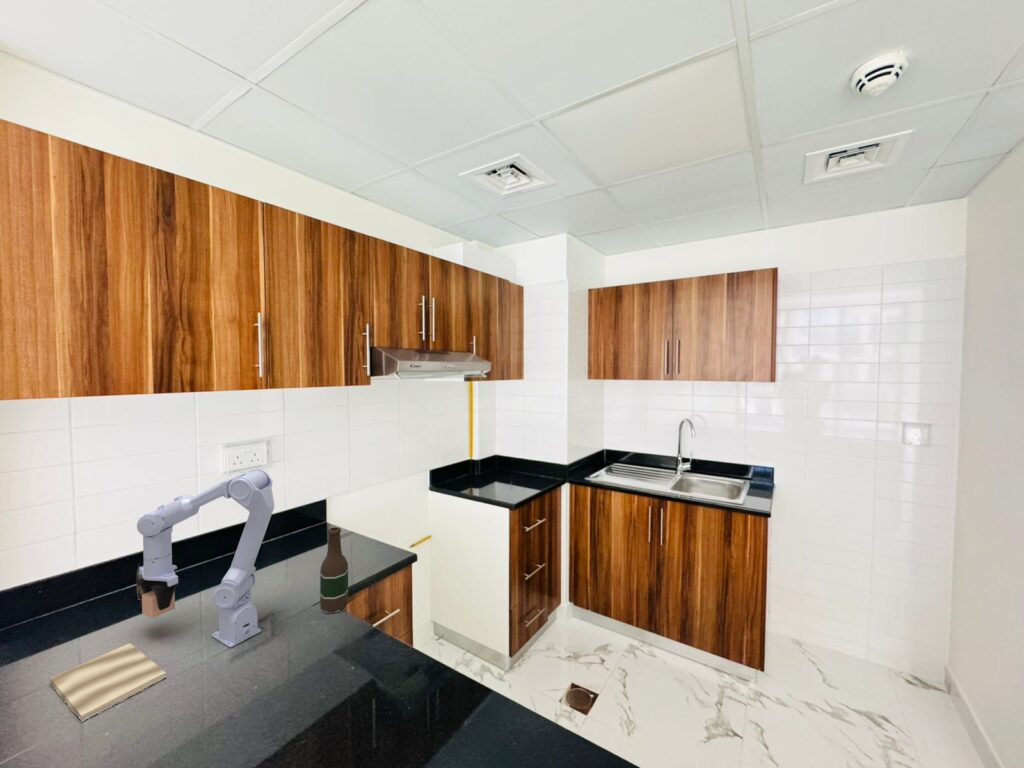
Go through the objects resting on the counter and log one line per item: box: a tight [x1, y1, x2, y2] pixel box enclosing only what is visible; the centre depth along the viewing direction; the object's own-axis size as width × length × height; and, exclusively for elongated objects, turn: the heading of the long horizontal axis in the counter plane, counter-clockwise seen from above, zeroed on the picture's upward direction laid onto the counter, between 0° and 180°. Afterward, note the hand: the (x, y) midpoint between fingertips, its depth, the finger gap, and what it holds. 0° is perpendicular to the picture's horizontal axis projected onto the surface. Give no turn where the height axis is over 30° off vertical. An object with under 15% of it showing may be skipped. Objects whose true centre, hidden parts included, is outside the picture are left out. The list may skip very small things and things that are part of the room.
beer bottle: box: [319, 526, 349, 612], centre depth 126 cm, size 8×8×24 cm
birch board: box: [49, 642, 167, 720], centre depth 95 cm, size 20×14×2 cm
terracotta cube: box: [141, 590, 176, 619], centre depth 111 cm, size 5×5×5 cm
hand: (158, 605), depth 111 cm, fingers closed on terracotta cube, 5 cm apart
